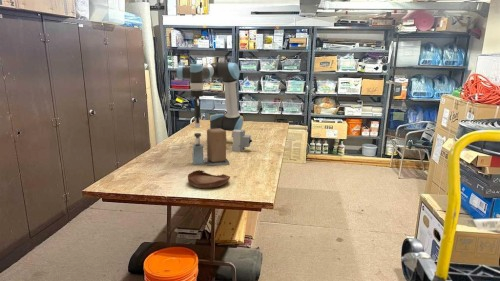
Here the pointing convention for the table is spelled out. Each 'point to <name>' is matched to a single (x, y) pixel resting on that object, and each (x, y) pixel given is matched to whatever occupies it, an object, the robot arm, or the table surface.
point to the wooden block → (216, 145)
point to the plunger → (197, 138)
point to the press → (199, 158)
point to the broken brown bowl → (206, 179)
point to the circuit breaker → (240, 140)
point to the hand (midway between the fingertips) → (197, 127)
